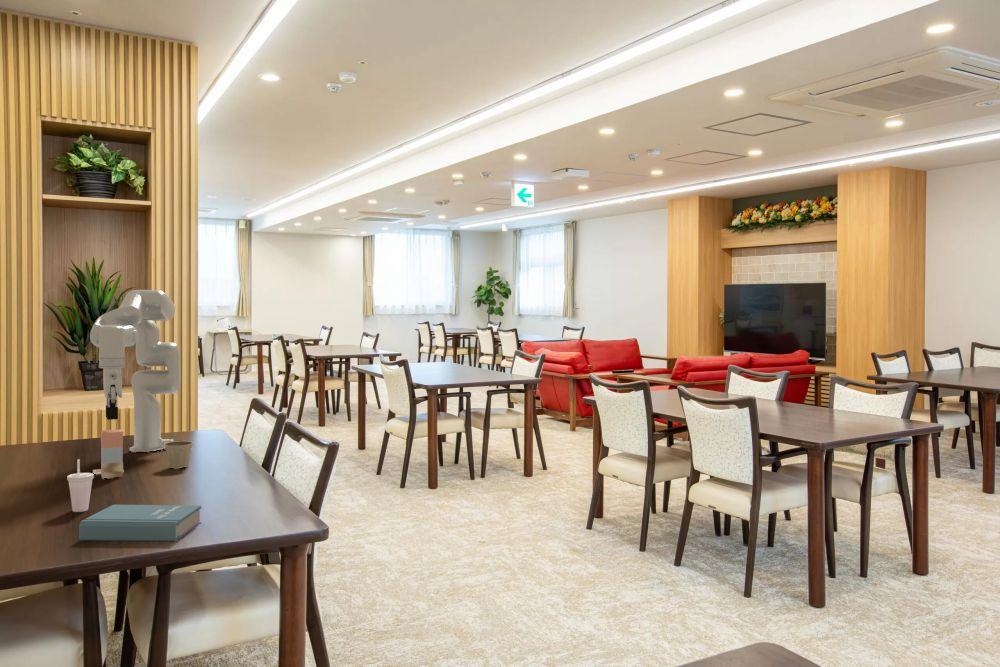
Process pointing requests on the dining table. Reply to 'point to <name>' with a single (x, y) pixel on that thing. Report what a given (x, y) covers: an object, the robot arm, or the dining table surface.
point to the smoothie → (80, 489)
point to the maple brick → (112, 470)
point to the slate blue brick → (111, 455)
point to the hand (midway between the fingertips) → (111, 417)
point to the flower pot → (178, 453)
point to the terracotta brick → (111, 438)
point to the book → (140, 523)
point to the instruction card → (98, 471)
